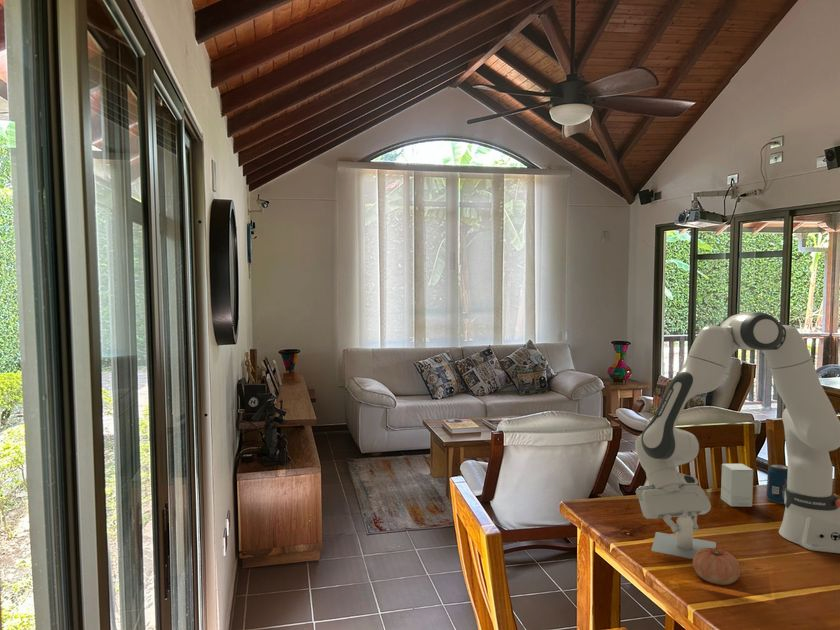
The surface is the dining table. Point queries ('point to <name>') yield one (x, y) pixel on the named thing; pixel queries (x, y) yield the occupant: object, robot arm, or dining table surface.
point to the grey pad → (668, 546)
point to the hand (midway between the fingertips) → (686, 530)
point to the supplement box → (737, 485)
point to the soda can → (777, 482)
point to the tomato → (716, 566)
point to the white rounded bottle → (684, 532)
